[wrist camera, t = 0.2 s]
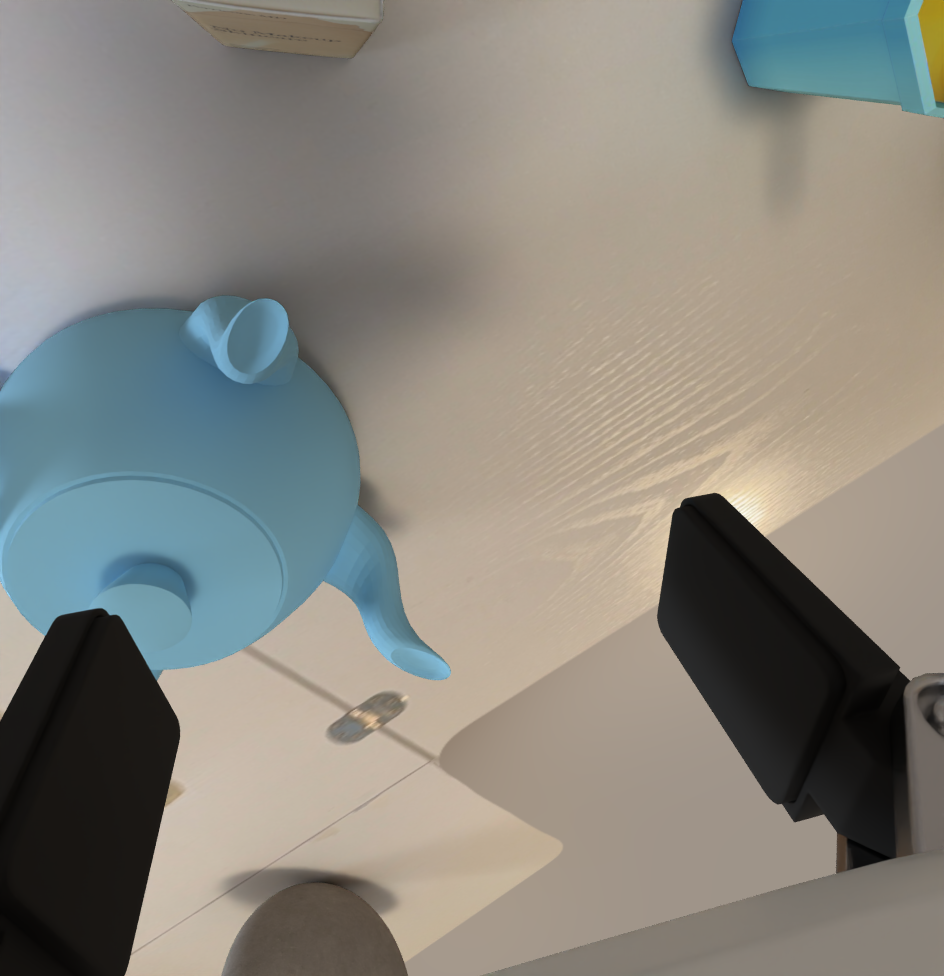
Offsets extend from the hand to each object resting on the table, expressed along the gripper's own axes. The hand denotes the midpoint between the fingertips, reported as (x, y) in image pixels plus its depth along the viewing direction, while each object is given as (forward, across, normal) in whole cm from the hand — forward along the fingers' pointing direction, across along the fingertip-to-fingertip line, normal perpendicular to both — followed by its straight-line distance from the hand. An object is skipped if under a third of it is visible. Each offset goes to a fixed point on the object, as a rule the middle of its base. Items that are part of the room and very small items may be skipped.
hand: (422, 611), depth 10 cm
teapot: (+22, +9, +8) cm, 24 cm away
